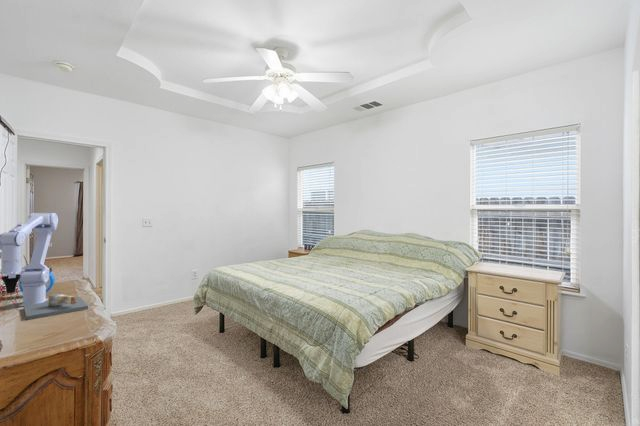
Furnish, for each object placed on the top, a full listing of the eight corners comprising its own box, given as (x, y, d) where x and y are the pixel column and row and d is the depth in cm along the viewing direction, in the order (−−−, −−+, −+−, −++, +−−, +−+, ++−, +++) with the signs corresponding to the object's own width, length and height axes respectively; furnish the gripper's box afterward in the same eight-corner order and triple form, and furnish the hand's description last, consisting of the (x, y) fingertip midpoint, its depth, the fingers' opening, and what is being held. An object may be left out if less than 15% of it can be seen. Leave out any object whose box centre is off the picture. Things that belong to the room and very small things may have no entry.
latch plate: (23, 308, 135) (23, 305, 135) (80, 299, 150) (80, 296, 150) (26, 320, 122) (26, 316, 122) (87, 309, 136) (87, 305, 136)
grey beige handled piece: (45, 306, 134) (45, 296, 134) (57, 302, 139) (57, 293, 139) (69, 308, 131) (69, 298, 131) (80, 305, 136) (80, 295, 136)
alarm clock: (18, 298, 151) (18, 268, 151) (21, 295, 156) (21, 266, 156) (53, 294, 158) (53, 266, 158) (54, 292, 164) (55, 264, 164)
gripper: (25, 261, 125) (25, 294, 125) (23, 257, 135) (22, 287, 135) (1, 263, 120) (0, 297, 120) (0, 259, 130) (-1, 290, 130)
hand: (10, 292), depth 127 cm, fingers closed
